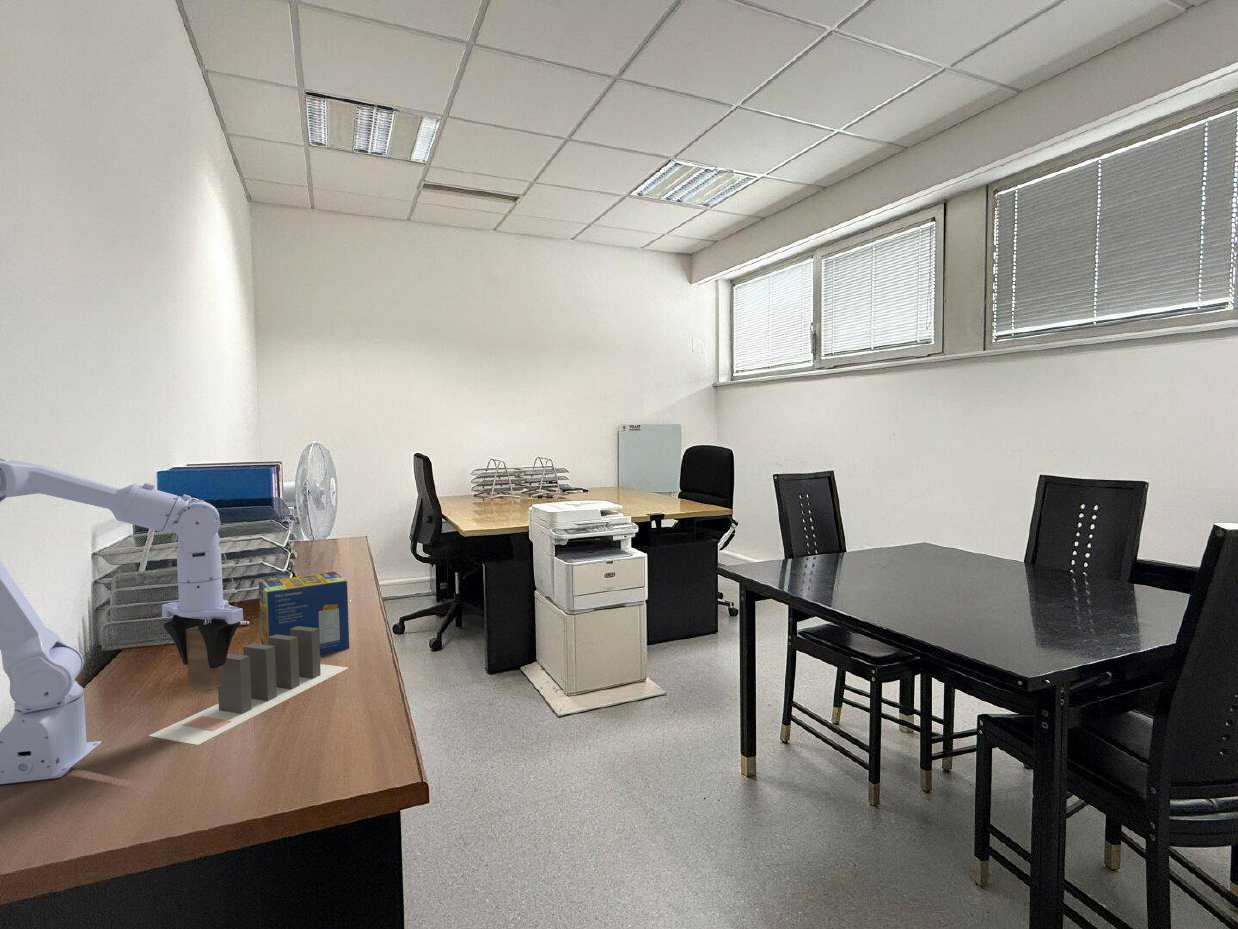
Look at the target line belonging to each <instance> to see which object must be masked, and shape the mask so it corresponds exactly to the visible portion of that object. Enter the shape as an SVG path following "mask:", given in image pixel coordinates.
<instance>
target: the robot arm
mask: <svg viewBox="0 0 1238 929" xmlns="http://www.w3.org/2000/svg"><path fill="white" fill-rule="evenodd" d="M155 487H156V485H155V484H152V483H148V482H145V483H143V485H141V484H136V483H133V484H129V485H127V486H125V487H122V488H119V487H118V488H117V487H114V486H111V485H107V484H105V483H100V482H98V481H95V480H92V479H87V478H85V477H81V476H78V475H75V474H71V473H68V472H65V471H62V470H58V469H54V468H51V467H48V466H45V465H40V464H36V463H31V462H26V461H20V460H15V459H12V460H10V459H9V460H6V459H5V458H2V457H0V503H2V501H4V500H5V499H6V498H13V497H21V496H22V497H23V496H28V495H37V494H38V495H39V494H40V495H46V496H50V497H54V498H60V499H63V500H67V501H72V502H77V503H80V504H81V503H82V504H86V505H90V506H93V507H99V508H103V509H107V510H109V511H111V513H112V514H113V516H114V518H115V519H116V520H117V521H118V522H121V523H124V524H125V523H126V524H130V525H134V526H137V527H142V528H144V529H145V528H146V529H148V530H149V529H150V530H154V531H158V532H163V533H170V532H174V533H175V535H176V536H177V545H178V548H177V549H178V550H177V551H176V567H177V568H176V569H177V588H178V591H177V592H178V601H172V602H168V603H163V604H162V605H161V616H162V618H170V617H172V618H171V620H170V621H169V620H168V621H166V622H164V623H163V628H164V630H165V631H166V632H167V633H168V634H169V635H170V637H171V639H172V640H173V642H174V643H175V646H176V648H177V651H178V654H179V657H180V659H181V661H182V664H183V665H184V666H185V665H186V666H187V647H186V630H187V629H190V628H193V627H196V626H198V630H199V631H200V633H201V635H202V637H203V639H204V642H205V645H206V649H207V656H208V663H209V666H210V668H212V669H214V668H217V667H219V666H222V665H224V664H225V662H226V658H227V654H228V653H229V649H230V646H231V643H232V639H233V638H234V635H235V633H236V632H237V629H238V627H239V626H240V625H241V622H243V621H244V611H243V610H244V609H243V608H241V607H238V606H237V607H236V606H235V605H234V606H233V605H230V604H229V600H226V599H224V591H223V590H224V588H223V568H222V566H223V564H222V563H223V562H222V550H221V547H220V543H221V542H220V541H221V540H220V538H221V537H220V535H219V530H220V527H221V524H222V521H221V519H220V513H219V511H218V509H217V508H216V507H215V506H213V505H212V504H211V503H209V502H206V501H205V500H203V499H194V500H191V499H192V498H191V495H187V494H183V495H182V496H179V495H177V494H173V493H169V492H165V491H162V490H159V489H158V490H157V489H155ZM27 598H28V597H26V596H25V594H24V593H23V592H22V590H21V588H20V586H19V585H18V583H17V582H16V581H15V579H14V578H13V577H12V575H11V574H10V572H9V570H7V567H6V566H5V565H4V564H3V562H2V560H1V559H0V655H1V660H2V662H1V663H2V669H3V671H4V673H5V675H7V678H8V680H9V695H10V697H11V699H12V700H13V702H14V709H13V710H14V712H13V715H12V717H11V720H10V721H9V722H8V723H7V724H6V725H4V726H3V727H2V729H1V730H0V785H4V784H5V785H6V784H16V783H23V782H33V781H42V780H50V779H58V778H62V777H63V776H64V775H66V774H67V773H68V772H70V771H71V770H72V769H73V766H75V764H77V763H78V762H79V761H80V760H81V759H83V758H84V757H85V756H86V755H88V754H89V753H90V752H91V751H93V749H95V748H96V747H98V746H99V745H101V743H102V741H101V740H96V741H87V725H86V709H85V695H84V694H85V689H84V687H83V686H81V685H80V684H79V683H78V681H76V678H78V676H79V675H80V673H81V672H82V670H83V668H84V662H85V661H84V657H83V655H82V653H81V652H80V651H79V650H78V649H77V648H76V647H74V646H71V645H69V644H67V643H65V642H64V641H63V640H62V639H61V637H60V635H59V634H58V633H57V632H55V631H53V630H52V629H50V628H48V627H47V626H46V625H45V623H44V622H43V621H42V619H41V617H40V616H39V614H38V613H37V611H36V610H35V609H34V608H33V606H32V604H31V603H30V601H29V600H28V599H27ZM205 621H210V622H208V623H205ZM204 623H205V624H204Z"/></svg>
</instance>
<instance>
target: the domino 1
mask: <svg viewBox="0 0 1238 929" xmlns="http://www.w3.org/2000/svg"><path fill="white" fill-rule="evenodd" d="M186 647H187V665H186V666H187V681H188V682H187V683H188V684H187V686H188V687H192V688H193V687H194V688H199V689H206V690H211V691H212V690H215V689H218V687H220V686H222V685H223V675H222V666H219V667H217V668H214V669H212V668H210V666H209V663H208V656H207V649H206V645H205V642H204V639H203V637H202V635H201V633H200V631H199V630H198V626H196V627H193V628H190V629H187V630H186Z"/></svg>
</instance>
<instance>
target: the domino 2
mask: <svg viewBox="0 0 1238 929" xmlns="http://www.w3.org/2000/svg"><path fill="white" fill-rule="evenodd" d="M222 675H223V685H222V686H220V687H217V694H218V696H217V698H218V703H219V710H220V711H226V712H232V713H238V714H244V713H246V712H248V711H250V710H252V701H251V678H250V656H245V655H244V654H237V653H236V654H234V653H229V652H228V654H227V658H226V662H225V664H224V665H222Z"/></svg>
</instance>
